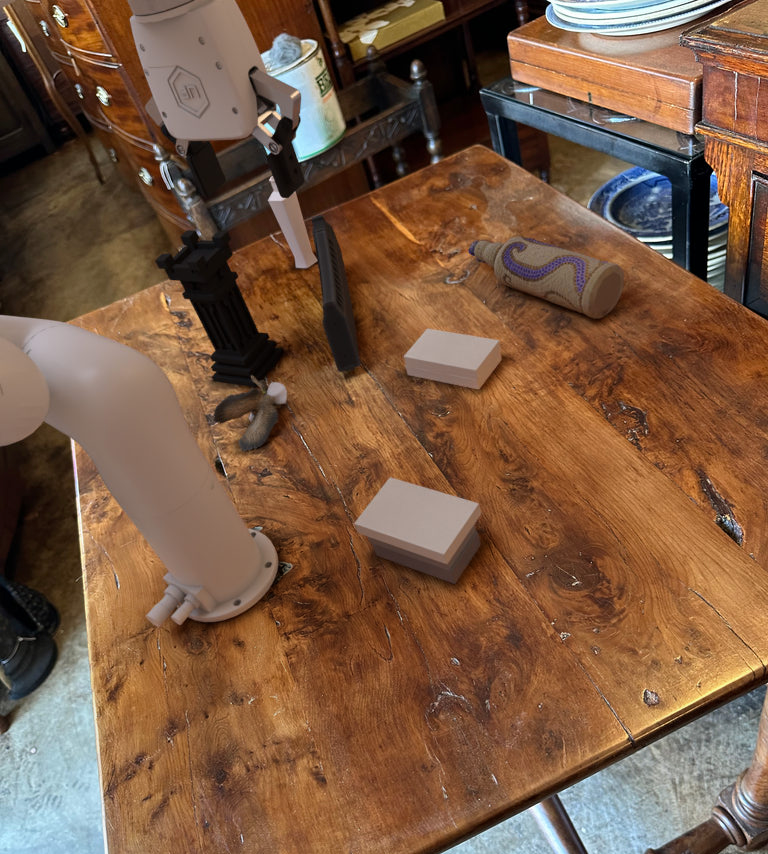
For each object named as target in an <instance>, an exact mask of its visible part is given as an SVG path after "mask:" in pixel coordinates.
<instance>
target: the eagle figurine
mask: <svg viewBox="0 0 768 854" xmlns="http://www.w3.org/2000/svg"><path fill="white" fill-rule="evenodd" d="M251 379H252V380H253V382H254V383H256V384H257V387H258V388H260V389H258V388H254V387H251V389H250V390H248V391H245V392H244V391H243V392H240V393H236V394H230V395H228V396H226V397H224V398H223V399H222V400H220V401H221V402H219V403H218V404H217V405H215V409H214V411H213V412H214V413H213V415H212V417H213V418H212V421H213V422H215V424H217V423H219V424H220V425H221V424H224V423H226V422H229V421H232V420H237V419H239V418H242V417H243V416H245V415H247V414H249V413H250V414H249V416H248V420H249V422H250V424H249V425H248V427H247V429H246V430H245V432H244V434H243V435H242V436H241V437H240V438H239V440H238V444H239V446H238V447H239V448H240V450H241V451H243V452H247V451H252V450H254V449H255V450H256V449H258V448H259V447H262V446H263V445H264V443H266V442H267V440H268V439H269V436H270V434H271V433H272V430H273V428H274V426H275V425H276V424H277V423H278V421H279V412H278V411H277V409H276V408H278V409H280V408H282V405H283V404H286V403H287V400H288V390H287V387H286V386H285V385H284V384H283V383H281V382H278V381H272V382H270V383H269V385H267V383H266V381H265V379H262V380H261V381H260V382H259V381H258V380H257V379H256V378H255V377H254V376H252V375H251Z"/></svg>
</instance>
